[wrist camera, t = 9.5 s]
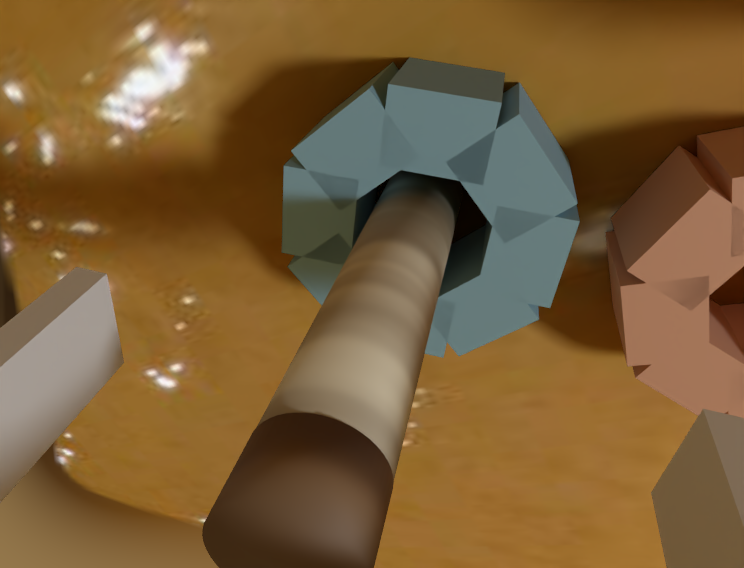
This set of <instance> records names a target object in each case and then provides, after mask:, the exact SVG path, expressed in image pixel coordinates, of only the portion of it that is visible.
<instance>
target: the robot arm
mask: <svg viewBox="0 0 744 568" xmlns="http://www.w3.org/2000/svg"><path fill="white" fill-rule="evenodd" d="M123 363H124V360H123V355H122V350H121V344H120V339H119V334H118V329H117V324H116V319H115V314H114V309H113V304H112V298H111V293H110V288H109V283H108V278H107V274H105V273H101V272H97V271H92V270H88V269H83V268H79V267H76V268H75V269H73V270H72V271H71V272H70V273H68V274H67V275H66V276H65V277H63V278H62V279H61V280H60V281H58V282H57V283H56V284H55V285H53V286H52V287H51V288H50V289H48V290H47V291H46V292H45V293H44V294H42V295H41V296H40V297H39V298H37V299H36V300H35V301H34V302H32V303H31V304H30V305H29V306H27V307H26V308H25V309H24V310H22V311H21V312H20V313H19V314H17V315H16V316H15V317H14V318H12V319H11V320H10V321H9V322H7V323H6V324H5V325H4V326H2V327H1V328H0V502H1V501H2V500H3V499H4V498H5V497H6V496H7V495H8V494H9V492H10V491H11V490H12V489H13V488H14V487H15V486H16V485H17V483H18V482H19V481H20V480H21V479H22V478H23V477H24V475H25V474H26V473H27V472H28V471H29V470H30V469H31V467H32V466H33V465H34V464H35V463H36V462H37V461H38V460H39V458H40V457H41V456H42V455H43V454H44V453H45V452H46V451H47V449H48V448H49V447H50V446H51V445H52V444H53V443H54V441H55V440H56V439H57V438H58V437H59V436H60V435H61V433H62V432H63V431H64V430H65V429H66V428H67V427H68V426H69V424H70V423H71V422H72V421H73V420H74V419H75V418H76V416H77V415H78V414H79V413H80V412H81V411H82V410H83V409H84V407H85V406H86V405H87V404H88V403H89V402H90V401H91V399H92V398H93V397H94V396H95V395H96V394H97V393H98V392H99V390H100V389H101V388H102V387H103V386H104V385H105V384H106V382H107V381H108V380H109V379H110V378H111V377H112V376H113V374H114V373H115V372H116V371H117V370H118V369H119V368H120V367H121V365H122V364H123ZM651 494H652V499H653V504H654V508H655V513H656V518H657V523H658V528H659V532H660V537H661V542H662V547H663V552H664V557H665V561H666V566H667V568H744V418H742V417H738V416H733V415H729V414H724V413H720V412H715V411H711V410H707V409H703V410H702V411H701V413H700V415H699V416H698V418H697V419H696V421H695V423H694V424H693V426H692V427H691V429H690V431H689V432H688V434H687V436H686V437H685V439H684V440H683V442H682V444H681V445H680V447H679V448H678V450H677V452H676V453H675V455H674V457H673V458H672V460H671V461H670V463H669V465H668V466H667V468H666V469H665V471H664V473H663V474H662V476H661V478H660V479H659V481H658V482H657V484H656V486H655V487H654V489H653V491H652V492H651Z"/></svg>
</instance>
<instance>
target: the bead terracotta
mask: <svg viewBox="0 0 744 568" xmlns="http://www.w3.org/2000/svg"><path fill="white" fill-rule="evenodd" d="M611 221H612V224H613V227H614V231H610V232H606V243H607V253H608V263H609V274H610V284H611V294H612V304H613V309H614V313H615V317H616V321H617V325H618V329H619V334H620V338H621V342H622V346H623V350H624V354H625V358H626V362H627V366H633V370H634V374H635V378H636V379H638V380H640V381H641V382H643V383H645V384H646V385H648V386H650V387H651V388H653V389H655V390H656V391H658V392H660V393H661V394H663V395H665V396H666V397H668V398H670V399H671V400H673V401H675V402H676V403H678V404H680V405H681V406H683V407H685V408H686V409H688V410H689V411H691V412H693V413H694V414H696V415H698V416H699V415H700V413H701V411H702V410H703V409H707V410H711V411H715V412H720V413H724V414H729V415H733V416H738V417H742V418H744V303H740V304H730V305H721V306H720V305H718V304H717V303H715V302H714V301H712V300H710V299H709V295H710V294H712V293H713V292H714V291H715V290H716V289H718V288H719V287H720V286H721V285H722V284H723V283H725V282H726V281H727V280H728V279H729V278H730V277H732V276H733V275H734V274H735V273H736V272H738V271H739V270H740V269H741V268H742V267H743V266H744V127H738V128H733V129H728V130H723V131H717V132H712V133H707V134H701V135H697V157H696V156H695V155H693V154H691V153H690V152H688V151H687V150H685V149H684V148H682V147H681V146H678V147H677V148H676V149H675V150H674V151H673V152H672V153H671V154H670V155H669V156H668V157H667V158H666V159H665V161H664V162H663V163H662V164H661V165H660V166H659V167H658V168H657V169H656V170H655V171H654V172H653V173H652V174H651V176H650V177H649V178H648V179H647V180H646V181H645V182H644V183H643V184H642V185H641V186H640V187H639V188H638V190H637V191H636V192H635V193H634V194H633V195H632V196H631V197H630V198H629V199H628V200H627V201H626V202H625V203H624V205H623V206H622V207H621V208H620V209H619V210H618V211H617V212H616V213H615V214H614V215H613V216H612V217H611Z"/></svg>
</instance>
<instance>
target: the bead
mask: <svg viewBox="0 0 744 568" xmlns="http://www.w3.org/2000/svg"><path fill="white" fill-rule="evenodd" d="M504 76H505V73H503V72H496V71H490V70H484V69H478V68H471V67H465V66H459V65H453V64H446V63H440V62H434V61H428V60H421V59H415V58H409V59H408V60H407V61H406V62H405V64H404V65H403V66H402V67H401V69H400V70H399V69H398V68H397V67H396V65H395V64H394V62H392V63H391V64H390V65H389V66H387V67H386V68H385V69H384V70H382V71H381V72H380V73H379V74H377V75H376V76H375V77H374V78H372V79H371V80H370V81H369V82H367V83H366V84H365V85H364V86H362V87H361V88H360V89H359V90H357V91H356V92H355V93H354V94H352V95H351V96H350V97H349V98H347V99H346V100H345V101H344V102H342V103H341V104H340V105H339V106H337V107H336V108H335V109H334V110H332V111H331V112H330V113H329V114H327V115H326V116H325V117H324V118H323V119H322V120H321V121H320V122H319V123H318V124H317V125H316V126H315V127H314V128H313V129H312V130H311V131H310V132H309V133H308V134H307V135H306V136H305V137H304V138H303V139H302V140H301V141H300V142H299V143H298V144H297V145H296V146H295V147H294V148H293V149H292V150H291V152H292V153H293V154H294V155H293V156H292V157H291V159H290V160H289V161H288V162H287V163H286V164H285V165H284V174H283V218H282V253H287V254H291V255H295V256H294V258H293V259H292V261H291V262H290V263H289V265H288V266H287V267H288V268H289V269H290V270H291V271H292V272H293V274H294V275H295V276H296V277H297V278H298V279H299V280H300V281H301V283H302V284H303V285H304V286H305V287H306V288H307V289H308V290H309V292H310V293H311V294H312V295H313V296H314V297H315V298H316V299H317V301H318V302H319V303H320V304H321V305H323V303H324V301H325V299H326V297H327V295H328V293H329V291H330V290H331V288H332V286H333V284H334V282H335V280H336V278H337V277H338V275H339V273H340V271H341V269H342V267H343V265H344V263H345V262H346V260H347V258H348V256H349V254H350V252H351V250H352V249H353V247H354V245H355V243H356V241H357V239H358V237H359V235H360V234H361V232H362V230H363V228H364V226H365V224H366V222H367V221H368V219H369V217H370V215H371V213H372V211H373V209H374V207H375V206H376V204H375V200H376V192H377V186H378V185H380V184H381V183H383V182H384V181H386V180H387V179H389V178H390V177H391V176H393V175H394V174H396V173H397V172H399V171H400V170H403V171H409V172H414V173H420V174H425V175H430V176H436V177H441V178H447V179H452V180H457V181H460V182H461V184H462V185H463V186H464V188H465V189H466V190H467V192H468V193H469V195H470V196H471V197H472V199H473V200H474V202H475V203H476V204H477V206H478V207H479V209H480V210H481V211H482V213H483V214H484V215H485V217H486V218H487V222H486V225H484V226H483V227H481V228H479V229H477V230H476V231H474V232H472V233H470V234H469V235H467V236H465V237H463V238H462V239H460V240H458V241H456V242H455V243H453V244H451V246H450V251H449V255H448V259H447V263H446V267H445V271H444V275H443V279H442V284H441V288H440V292H439V296H438V300H437V304H436V308H435V312H434V316H433V321H432V325H431V329H430V333H429V337H428V341H427V345H426V349H425V354H429V355H434V356H438V357H444V352H445V348H446V344H447V342H448V344H449V345H450V346H451V347H452V348H453V350H454V351H455V352H456V353H457V355H458V356H461V355H463V354H465V353H467V352H469V351H472V350H474V349H476V348H478V347H480V346H482V345H485V344H487V343H489V342H491V341H493V340H496V339H498V338H500V337H502V336H504V335H506V334H509V333H511V332H513V331H515V330H517V329H520V328H522V327H524V326H526V325H528V324H531V323H533V322H535V321H537V320H539V309H538V306H542V307H547V308H550V307H551V304H552V301H553V298H554V295H555V292H556V289H557V286H558V284H559V281H560V278H561V275H562V272H563V269H564V266H565V263H566V260H567V257H568V254H569V252H570V249H571V246H572V243H573V240H574V237H575V234H576V231H577V228H578V225H579V222H580V220H579V215H578V210H577V204H578V203H577V198H576V193H575V188H574V183H573V178H572V173H571V168H570V163H569V159H568V158H567V156H566V155H565V153H564V151H563V150H562V148H561V147H560V145H559V144H558V142H557V140H556V139H555V137H554V136H553V134H552V133H551V131H550V130H549V128H548V126H547V125H546V123H545V122H544V120H543V119H542V117H541V115H540V114H539V112H538V111H537V109H536V108H535V106H534V104H533V103H532V101H531V100H530V98H529V97H528V95H527V93H526V92H525V90H524V89H523V87H522V86H521V84H520V83H518V84H516V85H515V86H513V87H512V88H510V89H509V90H507V91H506V92H504V93H503V86H504Z"/></svg>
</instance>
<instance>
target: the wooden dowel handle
mask: <svg viewBox="0 0 744 568" xmlns="http://www.w3.org/2000/svg"><path fill="white" fill-rule="evenodd" d="M461 201H462V186H461V182H460V181H457V180H452V179H447V178H441V177H436V176H430V175H425V174H420V173H414V172H409V171H403V170H400V171H399V172H397V173H396V174H394V175H393V176H391V178H390V179H389V181H388V183H387V185H386V187H385V189H384V191H383V192H382V194H381V196H380V198H379V200H378V202H377V204H376V206H375V207H374V209H373V211H372V213H371V215H370V217H369V219H368V221H367V222H366V224H365V226H364V228H363V230H362V232H361V234H360V235H359V237H358V239H357V241H356V243H355V245H354V247H353V249H352V250H351V252H350V254H349V256H348V258H347V260H346V262H345V263H344V265H343V267H342V269H341V271H340V273H339V275H338V277H337V278H336V280H335V282H334V284H333V286H332V288H331V290H330V291H329V293H328V295H327V297H326V299H325V301H324V303H323V305H322V306H321V308H320V310H319V312H318V314H317V316H316V318H315V319H314V321H313V323H312V325H311V327H310V329H309V331H308V333H307V334H306V336H305V338H304V340H303V342H302V344H301V346H300V347H299V349H298V351H297V353H296V355H295V357H294V359H293V361H292V362H291V364H290V366H289V368H288V370H287V372H286V374H285V376H284V377H283V379H282V381H281V383H280V385H279V387H278V389H277V390H276V392H275V394H274V396H273V398H272V400H271V402H270V404H269V405H268V407H267V409H266V411H265V413H264V415H263V417H262V418H261V420H260V422H259V424H258V426H257V428H256V429H255V430H254V431H253V433H252V435H251V437H250V439H249V441H248V442H247V444H246V446H245V448H244V450H243V452H242V454H241V455H240V457H239V459H238V461H237V463H236V465H235V467H234V468H233V470H232V472H231V474H230V476H229V478H228V480H227V481H226V483H225V485H224V487H223V489H222V491H221V493H220V494H219V496H218V498H217V500H216V502H215V504H214V506H213V508H212V509H211V511H210V513H209V515H208V517H207V519H206V521H205V522H204V526H203V535H202V536H203V541H204V544H205V547H206V549H207V551H208V553H209V555H210V556H211V558H212V559H213V561H214V562H215V563H216V564H217V565H218V567H219V568H374V564H375V560H376V556H377V552H378V548H379V544H380V539H381V535H382V531H383V527H384V523H385V519H386V515H387V510H388V506H389V502H390V498H391V494H392V490H393V482H394V477H395V473H396V469H397V465H398V461H399V457H400V452H401V448H402V444H403V440H404V436H405V432H406V428H407V424H408V419H409V415H410V411H411V407H412V403H413V399H414V395H415V391H416V387H417V382H418V378H419V374H420V370H421V366H422V362H423V358H424V354H425V349H426V345H427V341H428V337H429V333H430V329H431V325H432V321H433V316H434V312H435V308H436V304H437V300H438V296H439V292H440V288H441V284H442V279H443V275H444V271H445V267H446V263H447V259H448V255H449V251H450V246H451V242H452V238H453V234H454V230H455V226H456V222H457V218H458V213H459V209H460V205H461Z"/></svg>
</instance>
